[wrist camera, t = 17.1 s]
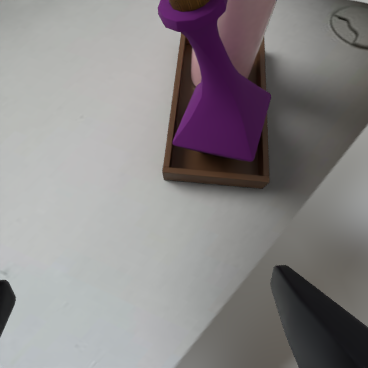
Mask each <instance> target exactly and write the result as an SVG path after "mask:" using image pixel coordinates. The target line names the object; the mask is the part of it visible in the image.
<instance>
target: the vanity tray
mask: <svg viewBox="0 0 368 368" xmlns="http://www.w3.org/2000/svg"><path fill="white" fill-rule="evenodd" d="M191 56H192V46H191V44H190V42H189V41H188V39H187V38H186V37H185V36H184V35H183V34H182V33H181V39H180V46H179V53H178V61H177V68H176V76H175V83H174V90H173V98H172V105H171V113H170V120H169V127H168V135H167V142H166V150H165V157H164V164H163V177H164V180H174V181H184V182H195V183H206V184H217V185H228V186H239V187H250V188H260V189H263V188H264V187H265V186H266V185H267V184H268V183H269V182H270V180H269V154H268V127H267V114H266V118H265V121H264V125H263V129H262V132H261V136H260V139H259V143H258V147H257V150H256V154H255V158H254V160H253V161H251V162H248V161H241V160H234V159H230V158H225V157H220V156H215V155H211V154H206V153H201V152H197V151H193V150H189V149H185V148H181V147H177V146H174V145H173V144H172V142H173V139H174V137H175V134H176V132H177V130H178V127H179V125H180V123H181V120H182V118H183V116H184V113H185V111H186V109H187V106H188V104H189V102H190V99H191V97H192V95H193V92H194V90H195V88H196V86H195V85H194V83H193V81H192V79H191ZM248 80H249V81H251V82H252V83H254V84H256V85H257V86H259V87H260V88H262V89H263V90H265V91H266V73H265V46H264V37H263V40H262V43H261V46H260V48H259V51H258V54H257V57H256V59H255V62H254V65H253V68H252V70H251V73H250V76H249V79H248Z"/></svg>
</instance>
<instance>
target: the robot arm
mask: <svg viewBox="0 0 368 368" xmlns="http://www.w3.org/2000/svg"><path fill="white" fill-rule="evenodd" d="M271 290H272V293H273V296H274V299H275V303H276V306H277V309H278V313H279V316H280V319H281V322H282V325H283V328H284V332H285V335H286V337H287V340H288V343H289V345H290V347H291V350H292V352H293V355H294V357H295V359H296V362H297V364H298V367H299V368H368V327H367V326H366V325H364V324H363V323H362V322H360V321H359V320H358V319H356V318H355V317H354V316H353V315H351V314H350V313H349V312H347V311H346V310H345V309H343V308H342V307H341V306H339V305H338V304H337V303H336V302H334V301H333V300H332V299H330V298H329V297H328V296H326V295H325V294H324V293H323V292H321V291H320V290H319V289H317V288H316V287H315V286H313V285H312V284H310V283H309V282H308V281H307V280H305V279H304V278H303V277H302V276H300V275H299V274H298V273H296V272H295V271H294V270H292V269H291V268H290V267H288V266H286V265H279V266H275V267H274V269H273V273H272V278H271ZM15 301H16V297H15V294H14V292H13V290H12V288H11V286H10V284H9V282H8V281H7V280H0V337H1V334H2V332H3V330H4V328H5V325H6V323H7V321H8V318H9V316H10V314H11V312H12V309H13V307H14V305H15Z"/></svg>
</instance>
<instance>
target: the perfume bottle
mask: <svg viewBox="0 0 368 368" xmlns="http://www.w3.org/2000/svg"><path fill="white" fill-rule="evenodd" d="M227 1H228V0H161V1H160V3H159V6H158V15H159V17H160V18H161V20H162V22H163V24H164V25H165V27H166V28H169V29H172V30H175V31H177V32H181V33H182V34H183V35H184V36H185V37H186V38H187V39H188V41H189V42H190V44H191V46H192V48H193V50H194V52H195V55H196V58H197V61H198V64H199V67H200V72H201V83H199V84H198V85H197V86H196V88H195V90H194V92H193V95H192V97H191V99H190V102H189V104H188V106H187V109H186V111H185V113H184V116H183V118H182V120H181V123H180V125H179V127H178V130H177V132H176V134H175V137H174V139H173V142H172V144H173V145H174V146H177V147H181V148H185V149H189V150H193V151H197V152H201V153H206V154H211V155H215V156H220V157H225V158H230V159H234V160H241V161H248V162H251V161H253V160H254V158H255V154H256V150H257V147H258V143H259V139H260V136H261V132H262V129H263V125H264V121H265V118H266V114H267V110H268V107H269V103H270V100H271V94H270V93H268V92H267V91H265V90H263V89H262V88H260V87H259V86H257V85H256V84H254V83H252V82H251V81H249V80H248V79H247V78H245V77H244V76H242V75H241V74H240V73H238V71H237V70H236V68H235V67H234V66H233V64H232V62H231V60H230V58H229V56H228V54H227V52H226V50H225V47H224V45H223V43H222V40H221V38H220V36H219V32H218V27H217V21H218V18H219V17H220V16H221V15H222V14H223V13H224V12H225V11H226V6H227Z"/></svg>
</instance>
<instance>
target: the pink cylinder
mask: <svg viewBox="0 0 368 368" xmlns="http://www.w3.org/2000/svg"><path fill="white" fill-rule="evenodd" d="M276 2H277V0H228V1H227V6H226V11H225V12H224V13H223V14H222V15H221V16H220V17H219V18H218V21H217V27H218V32H219V36H220V38H221V40H222V43H223V45H224V47H225V50H226V52H227V54H228V56H229V58H230V60H231V62H232V64H233V66H234V67H235V68H236V70H237V71H238V73H240V74H241V75H242V76H244V77H245V78H247V79H249V76H250V73H251V70H252V68H253V65H254V62H255V59H256V57H257V54H258V51H259V48H260V46H261V43H262V40H263V37H264V35H265V32H266V29H267V26H268V24H269V21H270V18H271V15H272V13H273V10H274V7H275V4H276ZM191 79H192V81H193V83H194V85H195V86H197V85H198V84H199V83H201V72H200V67H199V64H198V61H197V58H196V55H195V52H194V50H193V48H192V56H191Z"/></svg>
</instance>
